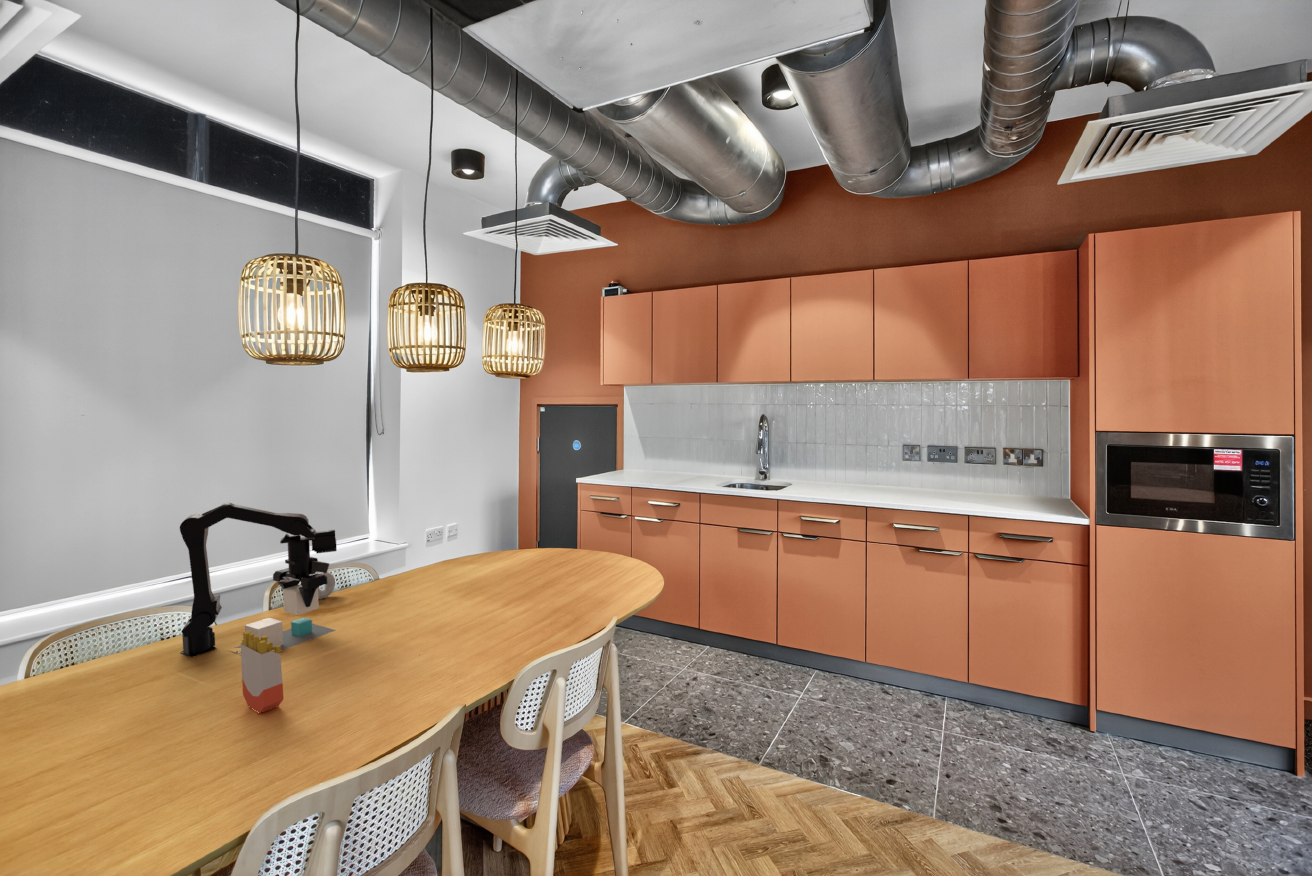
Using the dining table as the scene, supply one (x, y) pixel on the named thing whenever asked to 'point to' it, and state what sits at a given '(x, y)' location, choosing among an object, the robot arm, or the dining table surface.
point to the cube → (301, 627)
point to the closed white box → (298, 601)
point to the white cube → (267, 630)
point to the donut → (327, 586)
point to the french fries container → (261, 672)
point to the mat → (293, 640)
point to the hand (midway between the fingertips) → (301, 604)
